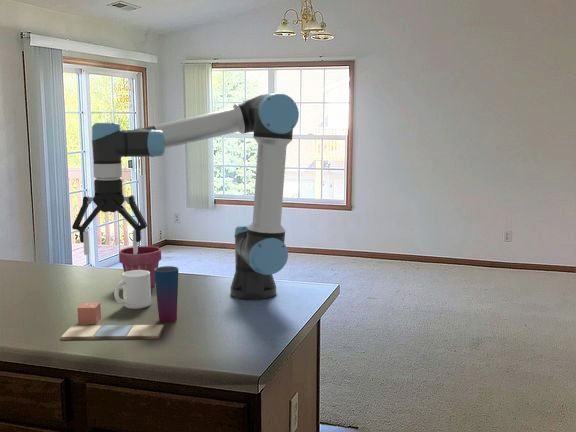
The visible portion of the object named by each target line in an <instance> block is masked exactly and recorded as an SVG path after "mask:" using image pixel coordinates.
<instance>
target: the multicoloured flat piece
mask: <svg viewBox="0 0 576 432" xmlns="http://www.w3.org/2000/svg"><path fill="white" fill-rule="evenodd" d="M164 329H165V325H164V324H133V325H132V324H119V325H118V324H116V325H115V324H114V325H111V324H110V325H108V324H107V325H103V324H102V325H98V324H96V325H71V326H70V327H69V328H68V329H67V330H66V331H65V332H64V333H63V334H62V335H61V337H59V338H60V341H70V340H71V341H74V340H75V341H78V340H81V341H85V340H87V341H88V340H89V341H90V340H91V341H92V340H146V339H147V340H151V339H153V340H154V339H156V340H159V339H160V337H161V335H162V333H163V331H164Z"/></svg>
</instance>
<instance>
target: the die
mask: <svg viewBox="0 0 576 432" xmlns="http://www.w3.org/2000/svg"><path fill="white" fill-rule="evenodd" d="M101 311H102V310H101V302H82V303H81V304H80V305H78V307H77V322H78V323H77V324H78V325H77V326H90V325H89V324H96V325H98V324H99V322H100V321H101V320H100V319H102V313H101ZM99 320H100V321H99Z"/></svg>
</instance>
